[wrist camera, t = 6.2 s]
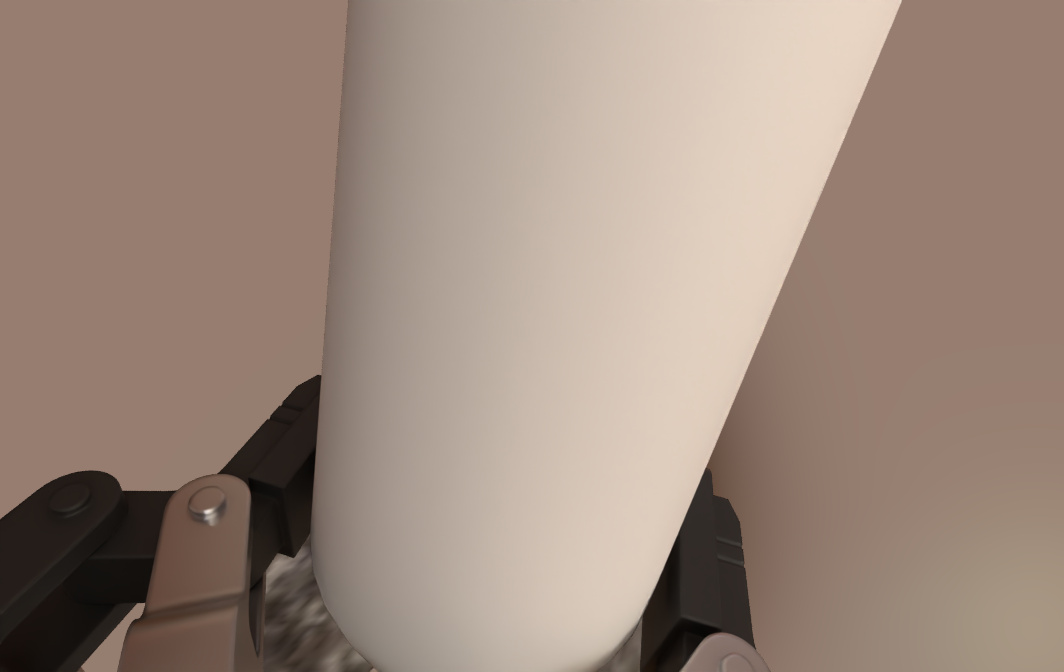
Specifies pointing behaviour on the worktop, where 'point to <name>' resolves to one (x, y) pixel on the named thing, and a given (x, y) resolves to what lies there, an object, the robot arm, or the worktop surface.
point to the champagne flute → (552, 301)
